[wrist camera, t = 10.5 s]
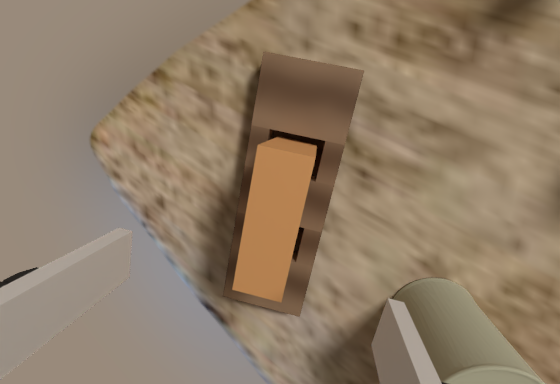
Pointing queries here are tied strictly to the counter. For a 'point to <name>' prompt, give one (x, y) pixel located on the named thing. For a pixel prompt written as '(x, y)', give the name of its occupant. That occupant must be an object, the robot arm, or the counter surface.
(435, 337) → the can
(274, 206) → the orange block
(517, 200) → the counter surface
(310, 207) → the rail
